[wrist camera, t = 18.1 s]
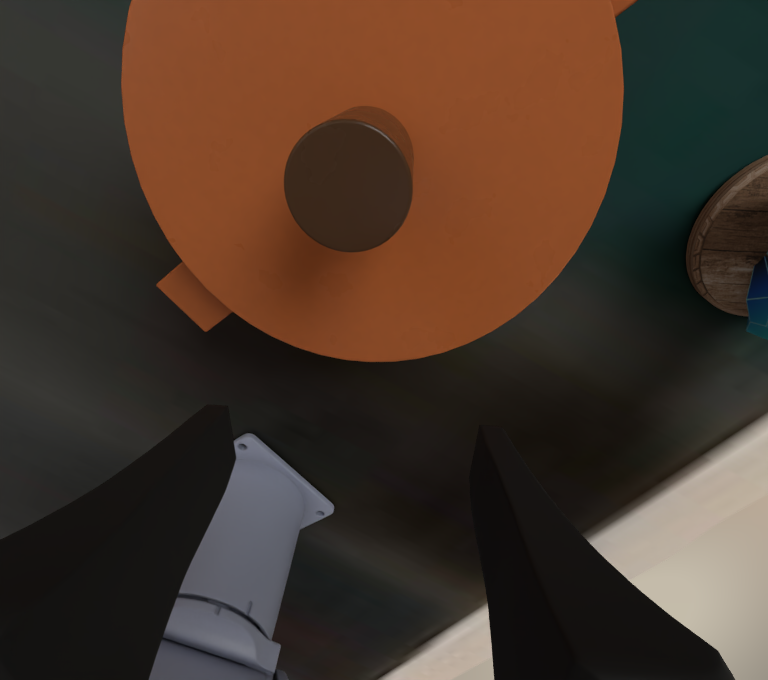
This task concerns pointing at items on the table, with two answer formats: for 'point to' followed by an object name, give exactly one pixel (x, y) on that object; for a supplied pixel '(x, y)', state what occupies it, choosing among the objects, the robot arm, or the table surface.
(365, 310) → the lid
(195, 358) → the table surface
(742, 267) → the gemstone
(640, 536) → the table surface
